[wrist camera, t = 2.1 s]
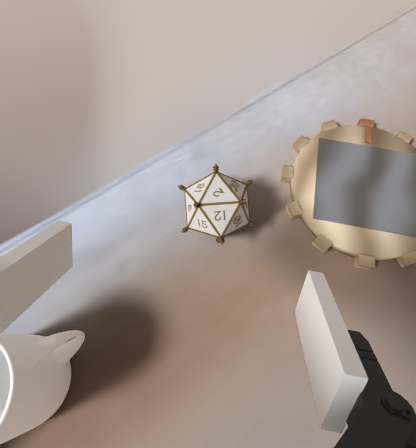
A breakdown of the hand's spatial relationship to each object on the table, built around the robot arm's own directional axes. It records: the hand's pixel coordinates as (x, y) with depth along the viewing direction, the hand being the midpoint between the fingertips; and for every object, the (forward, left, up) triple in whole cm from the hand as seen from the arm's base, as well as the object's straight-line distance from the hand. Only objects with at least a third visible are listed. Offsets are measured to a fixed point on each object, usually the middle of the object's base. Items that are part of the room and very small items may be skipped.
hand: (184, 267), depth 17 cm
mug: (+14, +9, -19) cm, 25 cm away
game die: (0, -11, -19) cm, 22 cm away
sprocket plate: (-18, -19, -19) cm, 32 cm away
